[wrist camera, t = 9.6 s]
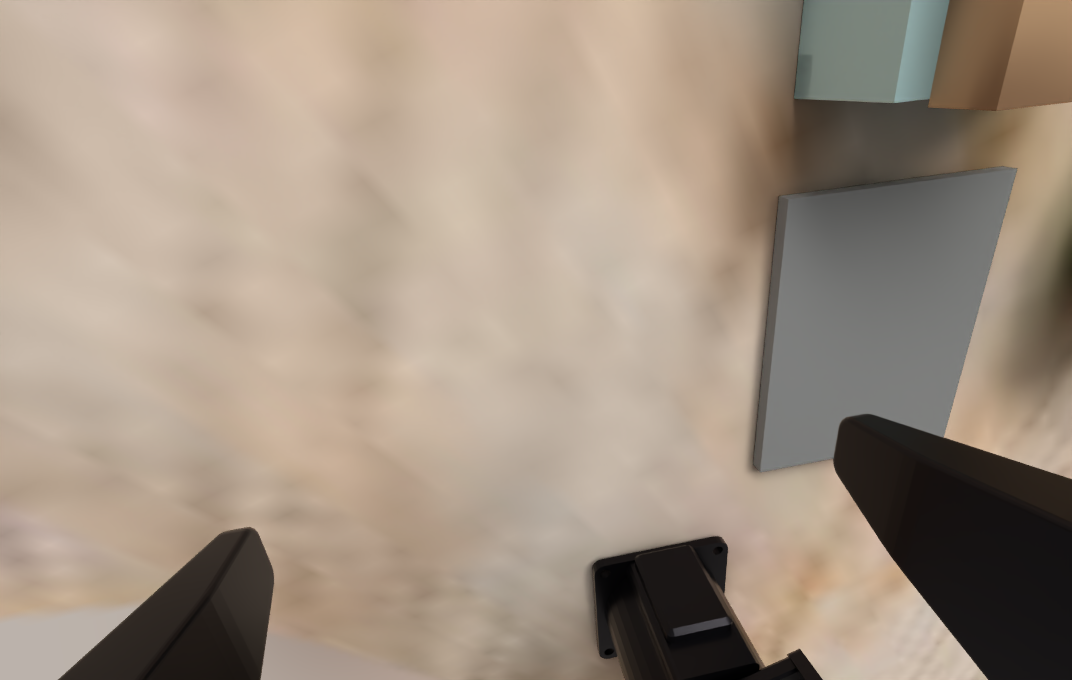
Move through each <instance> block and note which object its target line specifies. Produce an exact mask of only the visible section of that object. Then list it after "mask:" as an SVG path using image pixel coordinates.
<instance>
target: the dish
mask: <svg viewBox="0 0 1072 680" xmlns="http://www.w3.org/2000/svg"><path fill="white" fill-rule="evenodd" d="M948 5H949V0H804V4H803V14H802V24H801V34H800V44H799V54H798V64H797V74H796V84H795V94H794V99H812V100H835V101H858V102H881V103H899V102H907V101H916V100H925V99H930V94H931V89H932V84H933V80H934V75H935V70H936V65H937V60H938V55H939V50H940V45H941V40H942V35H943V30H944V25H945V20H946V15H947V10H948Z"/></svg>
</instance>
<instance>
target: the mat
mask: <svg viewBox="0 0 1072 680" xmlns="http://www.w3.org/2000/svg"><path fill="white" fill-rule="evenodd" d="M1016 172H1017V168H1011V167H1004V166H1001V167H993V168H986V169H978V170H971V171H963V172H956V173H948V174H941V175H933V176H926V177H919V178H911V179H904V180H896V181H889V182H881V183H874V184H866V185H859V186H851V187H844V188H836V189H829V190H821V191H814V192H806V193H799V194H791V195H784V196H779V202H778V212H777V222H776V233H775V243H774V253H773V264H772V274H771V284H770V295H769V305H768V315H767V326H766V336H765V346H764V357H763V367H762V377H761V388H760V398H759V408H758V419H757V429H756V439H755V450H754V460H753V465H754V466H755V467H756V468H757V469H758V471H759V472H765V471H770V470H775V469H781V468H786V467H791V466H796V465H802V464H807V463H812V462H817V461H822V460H828V459H833V457H834V451H835V445H836V440H837V434H838V428H839V424H840V422H841V421H842V420H843V419H844V418H846V417H849V416H855V415H860V414H873V415H876V416H879V417H882V418H885V419H888V420H891V421H894V422H897V423H901V424H904V425H907V426H910V427H913V428H916V429H919V430H922V431H925V432H928V433H931V434H934V435H937V436H940V437H944V434H945V430H946V427H947V423H948V419H949V416H950V412H951V408H952V405H953V401H954V397H955V394H956V390H957V387H958V383H959V379H960V376H961V372H962V368H963V365H964V361H965V357H966V354H967V350H968V347H969V343H970V339H971V336H972V332H973V328H974V325H975V321H976V317H977V314H978V310H979V306H980V303H981V299H982V296H983V292H984V288H985V285H986V281H987V277H988V274H989V270H990V266H991V263H992V259H993V256H994V252H995V248H996V245H997V241H998V237H999V234H1000V230H1001V226H1002V223H1003V219H1004V215H1005V212H1006V208H1007V205H1008V201H1009V197H1010V194H1011V190H1012V186H1013V183H1014V179H1015V175H1016Z"/></svg>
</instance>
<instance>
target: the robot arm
mask: <svg viewBox="0 0 1072 680" xmlns="http://www.w3.org/2000/svg"><path fill="white" fill-rule="evenodd" d="M833 462H834V468H835V471H836V473H837V475H838V477H839V478H840V480H841V481H842V483H843V484H844V486H845V487H846V489H847V490H848V492H849V493H850V495H851V497H852V498H853V500H854V501H855V503H856V504H857V506H858V507H859V509H860V510H861V512H862V513H863V515H864V516H865V518H866V520H867V521H868V523H869V524H870V526H871V527H872V529H873V530H874V532H875V533H876V535H877V536H878V538H879V540H880V541H881V543H882V544H883V545H884V547H885V548H886V550H887V551H888V553H889V554H890V556H891V557H892V558H893V560H894V561H895V562H896V564H897V565H898V566H899V568H900V569H901V570H902V572H903V573H904V574H905V575H906V577H907V578H908V579H909V580H910V582H911V583H912V584H913V585H914V587H915V588H916V589H917V591H918V592H919V593H920V594H921V596H922V597H923V598H924V599H925V601H926V602H927V603H928V604H929V606H930V607H931V608H932V609H933V611H934V612H935V613H936V614H937V616H938V617H939V618H940V620H941V621H942V622H943V623H944V625H945V626H946V627H947V628H948V630H949V631H950V632H951V633H952V635H953V636H954V637H955V638H956V640H957V641H958V642H959V643H960V645H961V646H962V647H963V648H964V650H965V651H966V652H967V654H968V655H969V656H970V657H971V659H972V660H973V661H974V662H975V664H976V665H977V666H978V667H979V669H980V670H981V671H982V672H983V674H984V675H985V676H986V677H987V679H988V680H1072V479H1069V478H1066V477H1063V476H1060V475H1057V474H1054V473H1051V472H1048V471H1045V470H1042V469H1039V468H1036V467H1032V466H1029V465H1026V464H1023V463H1020V462H1017V461H1014V460H1011V459H1008V458H1005V457H1002V456H999V455H996V454H993V453H990V452H986V451H983V450H980V449H977V448H974V447H971V446H968V445H965V444H962V443H959V442H956V441H953V440H950V439H947V438H943V437H940V436H937V435H934V434H931V433H928V432H925V431H922V430H919V429H916V428H913V427H910V426H907V425H904V424H901V423H897V422H894V421H891V420H888V419H885V418H882V417H879V416H876V415H873V414H860V415H855V416H849V417H846V418H844V419H843V420H842V421H841V422H840V424H839V428H838V434H837V440H836V445H835V451H834V457H833ZM727 553H728V547H727V544H726V543H725V541H724V540H723V539H722V537H719V536H715V537H710V538H705V539H700V540H695V541H690V542H685V543H680V544H675V545H670V546H665V547H660V548H655V549H651V550H646V551H641V552H636V553H631V554H626V555H621V556H616V557H611V558H606V559H602V560H599V561H597V562H596V563H595V564H594V565H593V568H592V573H593V588H594V603H595V618H596V633H597V647H598V651H599V654H600V656H601V657H602V658H605V659H608V658H613V657H618V660H619V663H620V666H621V669H622V672H623V675H624V678H625V680H823V679H822V678H821V677H820V675H819V674H818V673H817V671H816V670H815V669H814V667H813V666H812V665H811V663H810V662H809V660H808V659H807V658H806V656H805V655H804V654H803V652H802V651H801V650H800V649H798V650H796V651H794V652H791V653H789V654H787V655H788V657H787V658H785V659H782V660H780V661H778V662H776V663H773V664H771V665H769V666H767V667H765V665H764V664H763V662H762V660H761V658H760V657H759V655H758V653H757V651H756V650H755V648H754V646H753V644H752V643H751V641H750V639H749V637H748V636H747V634H746V632H745V630H744V629H743V627H742V625H741V623H740V621H739V620H738V618H737V616H736V614H735V613H734V611H733V609H732V607H731V606H730V604H729V602H728V600H727V599H726V597H725V595H724V591H725V579H726V566H727ZM603 570H604V571H603ZM273 587H274V573H273V568H272V565H271V563H270V560H269V558H268V556H267V553H266V551H265V548H264V546H263V544H262V541H261V539H260V536H259V534H258V532H257V531H256V530H255V529H254V528H251V527H246V528H241V529H235V530H230V531H225V532H223V533H221V534H219V535H218V536H217V537H216V538H215V539H214V540H212V541H211V542H210V543H209V544H208V545H207V546H206V547H205V548H204V549H202V550H201V551H200V552H199V553H198V554H197V555H196V556H195V557H194V558H192V559H191V560H190V561H189V562H188V563H187V564H186V565H185V566H184V567H182V568H181V569H180V570H179V571H178V572H177V573H176V574H175V575H174V576H172V577H171V578H170V579H169V580H168V581H167V582H166V583H165V584H164V585H163V586H161V587H160V588H159V589H158V590H157V591H156V592H155V593H154V594H153V595H151V596H150V597H149V598H148V599H147V600H146V601H145V602H144V603H143V604H141V605H140V606H139V607H138V608H137V609H136V610H135V611H134V612H133V613H131V614H130V615H129V616H128V617H127V618H126V619H125V620H124V621H123V622H121V624H119V625H118V626H117V627H116V628H115V629H114V630H113V631H112V632H110V633H109V634H108V635H107V636H106V637H105V638H104V639H103V640H102V641H100V642H99V643H98V644H97V645H96V646H95V647H94V648H93V649H92V650H91V651H89V652H88V653H87V654H86V655H85V656H84V657H83V658H82V659H80V660H79V661H78V662H77V663H76V664H75V665H74V666H73V667H72V668H71V669H70V670H68V671H67V672H66V673H65V674H64V675H63V676H62V677H61V678H59V679H58V680H260V678H261V673H262V665H263V658H264V651H265V644H266V637H267V630H268V623H269V616H270V609H271V602H272V595H273Z"/></svg>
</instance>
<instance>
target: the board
mask: <svg viewBox="0 0 1072 680" xmlns="http://www.w3.org/2000/svg"><path fill="white" fill-rule="evenodd" d="M1067 102H1072V0H949V5H948V10H947V15H946V20H945V25H944V30H943V35H942V40H941V45H940V50H939V55H938V60H937V65H936V70H935V75H934V80H933V84H932V89H931V94H930V99H929V104H928V107H931V108H951V109H971V110H991V111H998V110H1007V109H1016V108H1024V107H1033V106H1041V105H1050V104H1059V103H1067Z"/></svg>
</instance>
